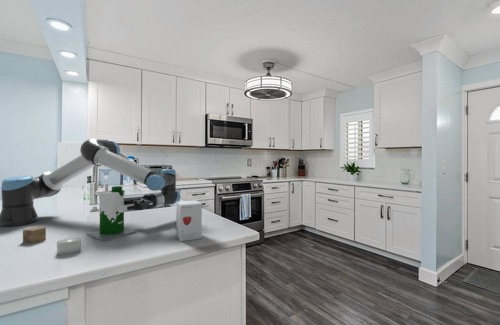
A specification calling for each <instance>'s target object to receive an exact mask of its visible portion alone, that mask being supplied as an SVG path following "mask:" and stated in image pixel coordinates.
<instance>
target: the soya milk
mask: <svg viewBox="0 0 500 325" xmlns="http://www.w3.org/2000/svg"><path fill="white" fill-rule="evenodd" d="M125 192H126V190H125V189H124V190H123V186H120V185H119V186H117V185H116V186H111V190H104V191H101V192H98V200H99V201H98V202H99V230H100V234H118V233H119V232H121V231H122V230H124V227H125V212H121V213H119V211H118V206H123V205H124V199H125Z"/></svg>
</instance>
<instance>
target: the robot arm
mask: <svg viewBox="0 0 500 325" xmlns="http://www.w3.org/2000/svg"><path fill="white" fill-rule="evenodd" d="M79 151H80V155H79V156H77V157H76V158H74V159H71V160H70V161H69V162H67V163H66V164H63V165H61V167H58V168H57V169H55V170H53V171H45V172H44V173H42V174H41V175H39V176H35V177H33V176H32V175H19V176H11V177H8V178H7V177H6V178H5V179H3V180H2V181H1V187H0V188H1V211H0V227H15V226H16V227H17V226H23V225H28V224H29V225H30V224H32V223H36V222H38V220H39V216H38V213H37V211H36V208H35V207H34V200H38V199H43V198H50V197H53V196H55V195H57V194H59V193H60V192H61V190H62V188H63V187H64V184H66V183H68V182H70V181H71V180H74V178H76V177H78V176H80V175H82V174H83V173H85V172H87V171H88V170H90V169H92V168H94V167H101V166H104V167H106V168H108V169H110V170H112V171H114V172H117V173H119V174H121V175H123V176H126V177H128V178H130V179H133V180H135V181H137V182H138V183H141V184H143V185H145V186H146V187H147V188H148V189H149V191H153V193H151V192H150V193H145V194H143V196H142V197H136V198H135V197H134V198H124V205H123V206H118V211H119V213H121V212H124V213H125V212H126V213H128V212H131V211H142V210H145V209H146V210H151V209H154V208H156V209H159V207H165V206H171V205H174V204H175V205H176V204H177V202H179V201H181V194H180V191H179V190H178V189H176V186H177V185H176V184H177V183H176V182H177V179H176V178H177V173H176V169H174V168H164V169H161V172H160V173H159V172H156V171H153V170H151V169H149V168H147V167H145V166H143V165H140V164H138V163H136V162H134V161H132V160H129V159H128V158H125V157H123V156H121V155H120V154H121V148H120V145H119V144H118V143H117V142H116V141H113V140H110V139H99V138H90V139H86V140H85V141H84V142H83V143H82V144H81V146H80V150H79ZM160 190H161V191H160ZM154 191H157V192H154ZM158 191H159V192H158Z"/></svg>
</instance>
